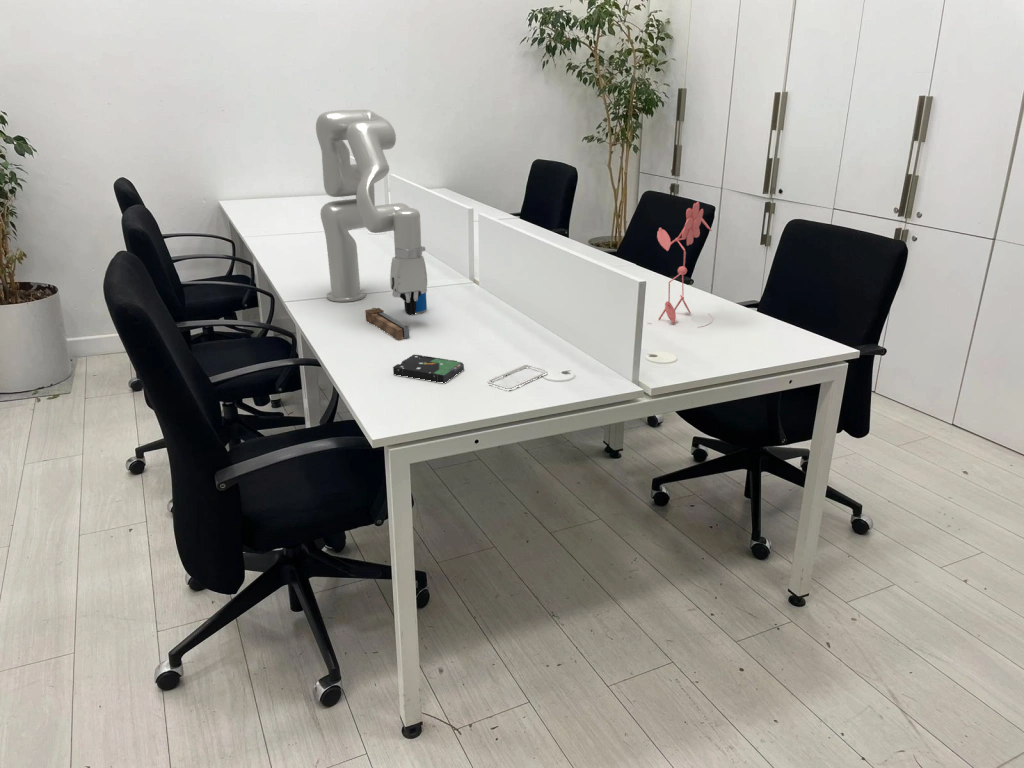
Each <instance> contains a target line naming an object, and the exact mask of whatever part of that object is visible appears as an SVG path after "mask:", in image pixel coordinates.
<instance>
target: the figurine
mask: <svg viewBox="0 0 1024 768" xmlns="http://www.w3.org/2000/svg"><path fill="white" fill-rule="evenodd" d="M703 216H704V208H701V209H700V201H699V200H698V201H696V202H694V203H693V205H692V207H688V208H687V209H686V212H685V217H686V220H685V221H686V222H685V224H684V226H683V228H682V230H681V232H680V233H679V235H678V236H677V237H675V239H673V240H672V241H671V237H670V235H669V234H668V232H667V231H666V230H665V229H663V228H662V227H659V228H658V230H657V233H656V234H657V235H656V239H657V241H658V243H659V245H660V246H661V247H662V249H664V250H666V252H668V251H669V250H670V248H671V245H673V244H674V243H675V242H677V243H678V245H679V246H680V247H681V249H682V250H683V265H682V266H679V267H678V268H677V275H676V276H675V277H673V278H672V279H670V280H669V281H668V301H665V303H664V310H662V312H661V314H660V316H659V317H658V320H659V321H661V319H662V317H663V316H664V315H665V313H666V315H667V317H668V319H669V320H670V322H671V323H672V324H673V325H675V323H676V319H677V317H676V310H677V309H678V307H679V305H680V304H681V302H683V304H684V306H685V308H686V310H687V311H688V313H689V314H692V313H691V310H690V309H689V306H688V304H687V303H686V300H685V297H684V276H685V275H686V274H687V273H688V269H687V267H686V258H687V257H686V255H687V251H686V249H685V247H684V246H683V245H682V243H681V242H680V241H683V240H686V246H687V247H688V246H690V245H692V244H693V243H694V238H696V239H697V238H699V237H700V234H701V232H700V231H701V230H700V226H701V224H703V225H704V226H705V227H706V229H707V230H709V231H710V232H712V229H711V227H710V226H709V225H708V223H707V222H706V221H705V219H704V218H703ZM679 276H681V283H682V285H681V287H682V290H681V291H682V293H681V294H682V295H681V294H679V295H680V296H679V297H680V299H679V301H678V302H677V303H676V305H675V306H673V304H672V303H671V301H670V299H671V297H670V296H671V294H670V293H671V283H672V282H673V281H674V280H675V279H677V278H678V277H679ZM709 316H710V317H711V319H712V320H713V316H712V315H711V314H709ZM646 323H647V324H649V325H651V323H650V322H646ZM708 325H710V323H707V324H706V325H701V326H698V327H697V328H702V327H705V326H708Z"/></svg>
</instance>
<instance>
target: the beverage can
mask: <svg viewBox="0 0 1024 768" xmlns="http://www.w3.org/2000/svg"><path fill="white" fill-rule="evenodd" d="M409 296H410V292H409ZM427 308H428V304H427V292H425V293H423V294H421V295H420V296H419V297H418V300H417V301H416V311H415V313H420V314H423V313H425V311H427ZM422 312H423V313H422Z"/></svg>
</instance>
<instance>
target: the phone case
mask: <svg viewBox="0 0 1024 768" xmlns="http://www.w3.org/2000/svg"><path fill="white" fill-rule="evenodd" d="M526 367H528V368H526ZM523 368H524V369H529V368H533V369H536V370H540V371H543V372H541V373H539V374H536V375H534V376H532V377H529V378H528V379H526V380H524V381H521V382H518V383H517V384H514V385H512V386H509V387H507V386H505V385H501V384H499V383H496V382H495V383H494V382H493V381H495V380H497V379H499V378H505V377H504V376H506V375H508V374H510V375H512V374H511V373H513V372H515V373H517V372H519V371H518V370H520V369H522V370H524V369H523ZM516 371H517V372H516ZM520 371H521V370H520ZM545 373H547V374H548V370H546V369H544V368H541V367H537V366H533V365H530V364H523V365H522V366H519V367H516V368H514V369H512V370H510V371H506V372H505V373H502V374H500V375H498V376H495V377H493V378H491V379H488V380H487V381H486V384H487V383H488V384H492V385H495V386H498V387H502V388H505V389H512V388H514V387H516V386H519V385H522V384H524V383H526V382H528V381H531V380H533V379H536V378H538V377H540V376H542V375H543V374H545ZM513 374H514V373H513ZM502 376H503V377H502ZM508 376H509V375H508ZM506 377H507V376H506ZM536 380H537V379H536ZM491 381H492V382H491Z"/></svg>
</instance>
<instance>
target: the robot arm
mask: <svg viewBox="0 0 1024 768" xmlns="http://www.w3.org/2000/svg"><path fill="white" fill-rule="evenodd" d="M395 131H396V130H395V129H394V127H393V125H392V124H391V122H389V120H388V119H386V118H384V117H383V116H381V115H379V114H377V113H376V112H374V111H372V110H369V109H346V110H345V109H342V110H341V109H340V110H339V109H338V110H330V111H326V112H322V113H321V114H319V115H318V117H317V119H316V122H315V133H316V137H317V140H318V144H319V147H320V151H321V164H322V176H323V177H322V179H323V181H322V182H323V187H324V191H325V194H327V195H328V196H330V197H333V198H342V197H350V196H351V197H352V196H355V198H350V199H340V200H333V201H329V202H326V203H325V204H324V205H323V206H322V207H321V209H320V220H321V223H322V227H323V231H324V236H325V242H326V250H327V258H328V259H327V261H328V270H329V281H330V289H331V290H330V292H327V293H326V294H327V295H326V298H327V299H328V300H329V301H332V302H338V303H339V302H340V303H341V302H343V303H345V302H354V301H359V300H362V299H364V298H366V292H365V291H364V290H362V289H361V282H360V269H359V257H358V256H359V255H358V247H357V245H358V244H357V242H356V240H355V239H354V237H353V236H352V235H351V234H350V232H349V231H352V230H357V229H367V231H369V232H371V233H374V234H381V233H386V232H393V239H394V241H393V242H394V257H392V258H391V259H392V260H391V264H390V274H389V277H390V278H389V281H390V283H389V285H390V290H392V293H391V295H392V297H394V298H397V299H398V298H400V299H402V301H404V312H405V313H406V314H407V315H409V316H415V315H416V314H415V311H416V301H417V300H418V297H419V296H420V295H421V294H423V293H425V292H426V293H427V292H428V274H427V267H426V261H425V258H424V255H423V253H424V252H426V247H425V246H422V236H421V235H422V233H421V229H422V228H421V227H422V226H421V213H420V211H419V210H418V209H416V208H414V207H412V208H411V207H409V206H408V205H407V204H405V203H403V202H396V203H389V204H381V205H376V203H375V202H376V201H375V184H376V183H378V182H380V181H381V180H382V179H384V178H385V177H386V176H387V175H388V174H389V172H390V166H389V163H388V160H387V158H386V156H385V153H384V150H385V151H386V150H391V149H392V148H394V147H395V146H396V142H397V137H396V136H397V134H396V132H395ZM345 141H347V143H348V145H349V148H350V149H351V152H350V149H349V148H348V145H347V144H346V143H345ZM351 153H352V156H353V158H354V161H355V164H351ZM409 292H410V296H409Z"/></svg>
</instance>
